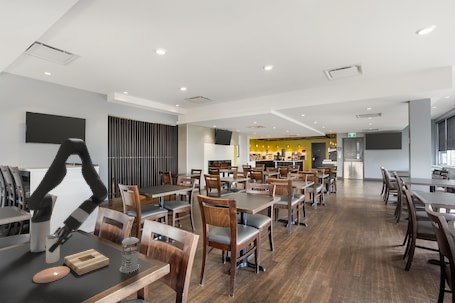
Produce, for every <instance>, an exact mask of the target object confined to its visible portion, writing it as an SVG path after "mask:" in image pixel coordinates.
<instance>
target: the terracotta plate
mask: <svg viewBox="0 0 455 303" xmlns="http://www.w3.org/2000/svg"><path fill="white" fill-rule="evenodd" d="M70 272H71V268H70V267H69V266H62V265H61V266H53V267H49V268H45V269H43V270H41V271H39V272H38V273H37V272H36V274H34V276H33V277H32V278H33V279H32V281H33V282H34V283H37V284H46V283H52V282H55V281H58V280H61V279H63V278H64V277H66V276H68V275H69V274H70Z"/></svg>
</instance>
